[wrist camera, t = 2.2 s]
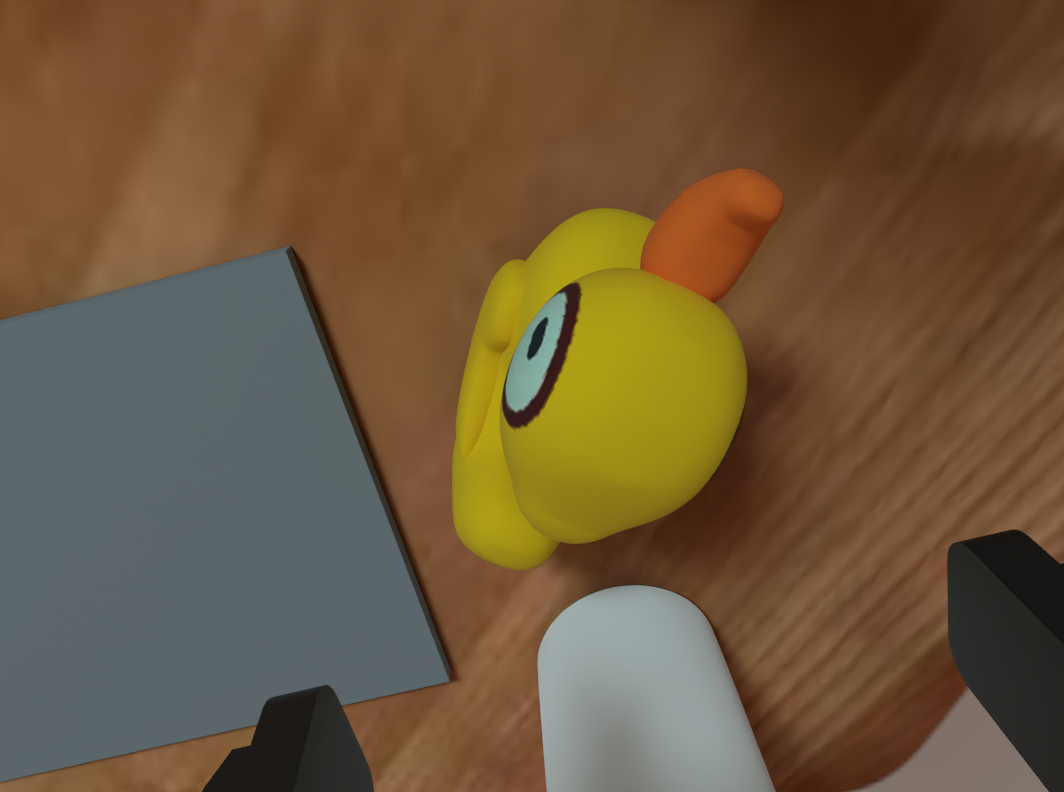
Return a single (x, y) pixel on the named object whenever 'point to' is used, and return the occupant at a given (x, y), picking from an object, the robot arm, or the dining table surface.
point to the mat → (188, 521)
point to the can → (642, 700)
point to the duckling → (606, 373)
